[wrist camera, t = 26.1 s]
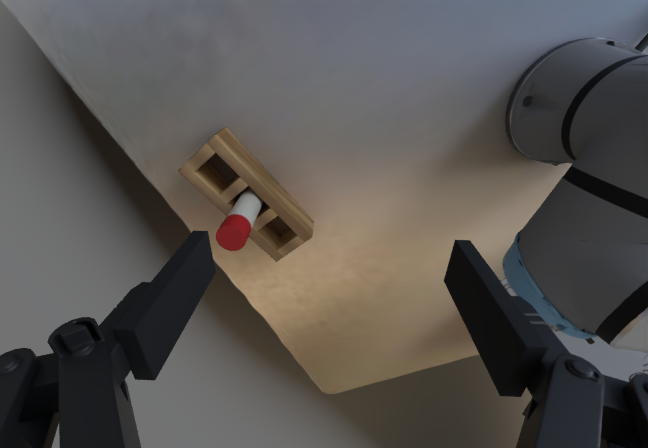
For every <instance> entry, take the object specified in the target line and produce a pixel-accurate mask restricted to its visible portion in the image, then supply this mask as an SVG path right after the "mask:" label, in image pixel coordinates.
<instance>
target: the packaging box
mask: <svg viewBox="0 0 648 448" xmlns="http://www.w3.org/2000/svg"><path fill="white" fill-rule="evenodd" d="M500 282H501V283H502V284H503V286H504V287H505V288H506V290H507V291H508V293H509V294H510V295H511V296H517V295H516V294H515V292H514V291H513V289H512V288H511V286H510V285H509V283H508V281H507V279H504V280H502V281H500ZM546 324H547V325H548V326H549V327H550V328H551V330H552V331H553V332H554V333H555V335H556V336H557V337H558V338H559V340H560V341H561V342H562V343H563V345H564V346H565V347H566V348H567V350H568V351H569V352H570V353H571V354H574V355H576V356H579V357H582V358H583V359H585V360H587V361H589V362H590V363H591V364H593V365H594V366H595V367H596V368H597V369H598V370H599V371H600V372H601V374H603V375H606V376H610V377H613V378H617V379H620V380H623V381H627V382H629V381H630V380H631V379H632V377H634V376H635V375H636V374H645V375H648V354H647V353H644V352H641V351H633V350H623V349H615V348H613V347H611V346H610V345H609V344H607V343H606V342H605V341H604V340H602V339H601V338H600V337H598V336H597V337H594V338H588V339H580V338H575V337H572V336H569V335H567V334H565V333H563V332H561V331H560V330H559V329H558V328H557V327H556V326H555V325H549V324H548V323H546Z"/></svg>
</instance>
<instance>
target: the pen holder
mask: <svg viewBox="0 0 648 448" xmlns="http://www.w3.org/2000/svg"><path fill="white" fill-rule="evenodd" d="M216 153H217V154H218V155H219V156H220V157H221V158H222V159H223V160H224V161H225V162H226V163H227V164H228V165H229V166H230V167H231V168H232V169H233V170H234V171H235V172H236V173H237V174H238V175H237V176H236V177H235V178H234V179H233V180H232V181H230V182H228V181H227V180H225V179H224V178H223V177H222V176H221V175H220V174H219V173H218V172H217V171H216V170H215V169H214V168H213V167H212V166H211V165H210V164H209V163H208V162H207V161H208V160H209V159H210V158H211V157H213V156H214V155H215V154H216ZM178 171H179V172H180V173H181V174H182V175H183V176H184V177H185V178H186V179H187V180H188V181H190V182H191V183H192V184H193V185H194V186H195V187H196V188H197V189H198V190H199V191H200V192H201V193H203V194H204V195H205V196H206V197H207V198H208V199H209V200H210V201H211V202H212V203H213V204H214V205H215V206H217V207H218V208H219V209H220V210H221V211H222V212H223V213H224V214H225V215H226V216H228V215H229V213H230V212H231V210H232V208H233V207H234V205H235V204H236V202H237V201H238V199H239V197H240V196H241V194H240V192H241V191H243V190H244V189H245V188H246V187H247V186H249V187H250V188H251V189H252V190H253V191H254V192H255V193H256V194H257V195H258V196H259V197H260V198H261V199H262V200H263V201H264V202H265V203H264V204H263V205H262V207H261V209H260V211H259V213H258V216H257V218H256V220H255V222H254V224H253V227H252V229H251V232H250V234H249V237H250V238H251V239H252V240H253V241H254V242H255V243H257V244H258V245H259V246H260V247H261V248H262V249H263V250H264V251H265V252H266V253H267V254H268V255H270V256H271V257H272V258H273V259H274V260H275V261H276V262H277V261H278V260H280V259H281V258H282V257H284V256H285V255H287V254H288V253H290V252H291V251H293V250H294V249H296V248H297V247H298V246H300V245H301V244H303V243H304V242H306V241H307V240H309V239H310V238H311V237H312V233H313V223H314V221H313V220H312V219H311V218H310V217H309V216H308V215H307V214H306V213H305V212H304V211H303V209H302V208H301V207H300V206H299V205H298V204H297V203H296V202H295V201H294V200H293V199H292V198H291V197H290V196H289V194H288V193H287V192H286V191H285V190H284V189H283V188H282V187H281V186H280V185H279V184H278V183H277V182H276V181H275V179H274V178H273V177H272V176H271V175H270V174H269V173H268V172H267V171H266V170H265V169H264V168H263V167H262V166H261V164H260V163H259V162H258V161H257V160H256V159H255V158H254V157H253V156H252V155H251V154H250V153H249V152H248V151H247V149H246V148H245V147H244V146H243V145H242V144H241V143H240V142H239V141H238V140H237V139H236V138H235V137H234V136H233V134H232V133H231V132H230V131H229V130H228V129H227V128H224V129H223V130H222V131H220V132H219V133H217V134H216V135H214V136H213V137H212V138H211V139H210V140H209V141H208V142H207V143H206V144H205V145H204V146H203V147H202V148H201V149H200V150H199V151H198V152H196V153H195V154H194V155H193V156H192V157H191V158H190V159H189V160H188V161H187V162H186V163H185V164H184V165H183V166H182V167H181V168H180V169H179V170H178ZM277 216H279V217H280V218H281V219H282V220H283V221H284V222H285V223H286V224H287V225H288V226H289V227H290V228H289V229H288V230H286V231H285V232H283V233H282V234H280V233H279V232H278V231H277V230H276V229H275V228H274V227H273V226H272V225H271V224H270V223H269V222H270V221H271V220H273V219H274V218H275V217H277Z"/></svg>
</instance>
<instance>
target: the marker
mask: <svg viewBox="0 0 648 448" xmlns="http://www.w3.org/2000/svg"><path fill="white" fill-rule="evenodd" d="M263 202H264V201H263V200H262V199H261V198H260V197H259V196H258V195H257V194H256V193H255V192H254V191H253V190H252V189H251V188H250V187H249V186H247V187H246V188H245V190H244V191H243V193H242V194H241V196H240V197H239V199H238V201H237V202H236V204H235V205H234V207H233V208H232V210H231V212H230V213H229V215H228V216H227V218H226V219H225V220H224V222H223V223H222V225H221V226H220V228H219V229H218V231H217V233H216V239H217V242H218V243H219V245H220V246H221V247H223V248H224V249H226V250H230V251H236V250H239V249H241V248H242V247H243V246H244V245H245V243H246V241H247V239H248V236H249V234H250V232H251V229H252V227H253V224H254V222H255V220H256V218H257V216H258V213H259V211H260V209H261V207H262V204H263Z"/></svg>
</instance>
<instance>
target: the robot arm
mask: <svg viewBox="0 0 648 448" xmlns="http://www.w3.org/2000/svg"><path fill="white" fill-rule="evenodd" d="M647 46H648V34H647V35H646V36H645V37H644V38H643V39H642V40H641V42H640V43H639V44H638V45H637V46H636V47H635V48H632V47H629V46H628V45H626V44H624V43H622V42H619V41H617V40H612V39H606V38H586V39H578V40H574V41H570V42H568V43H565V44H562V45H560V46H558V47H556V48H554V49H553V50H551V51H549V52H548V53H546V54H545V55H544V56H542V57H541V58H540V59H539V60H537V61H536V62H535V63H534V64H533V65H532V66H531V67H530V68H529V69H528V70H527V72H526V73H525V74H524V75H523V77H522V78H521V79H520V81H519V82H518V84H517V85H516V87H515V89H514V91H513V93H512V95H511V98H510V101H509V104H508V107H507V112H506V130H507V134H508V137H509V139H510V141H511V143H512V145H513V146H514V147H515V148H516V149H517V150H518V151H519V152H520V153H522V154H523V155H525V156H527V157H529V158H531V159H533V160H536V161H540V162H544V163H551V164H553V165H555V166H557V165H559V164H560V163H573V164H572V166H571V167H570V168H569V170H568V171H567V172H566V174H565V175H564V176H563V177H562V178H561V180H560V181H559V182H558V184H557V185H556V186H555V188H554V189H553V190H552V192H551V193H550V194H549V196H548V197H547V198H546V200H545V201H544V202H543V204H542V205H541V206H540V208H539V209H538V210H537V211H536V213H535V214H534V215H533V216H532V218H531V219H530V220H529V222H528V223H527V224H526V225H525V227H524V228H523V229H522V230H521V231H520V232H518V233H517V235H516V237H515V241H514V243H513V244H512V246H511V247H510V248H509V250H508V251H507V253H506V254H505V256H504V259H503V269H504V275H505V277H506V279H507V281H508V283H509V285H510V286H511V288H512V289H513V291H514V292H515V294H516V295H517V296H511V295H510V294H509V293H508V291H507V290H506V288H505V287H504V286H503V284H502V283H501V282H500V280H499V279H498V278H497V276H496V275H495V274H494V272H493V271H492V270H491V268H490V267H489V266H488V264H487V263H486V262H485V260H484V259H483V257H482V256H481V255H480V253H479V252H478V251H477V249H476V248H475V247H474V245H473V244H472V243H471V241H470V240H455V243H454V246H453V250H452V253H451V257H450V261H449V264H448V268H447V271H446V275H445V279H444V282H445V284H446V286H447V288H448V290H449V292H450V294H451V297H452V299H453V301H454V303H455V305H456V307H457V309H458V311H459V313H460V315H461V317H462V319H463V321H464V323H465V325H466V327H467V329H468V331H469V333H470V335H471V337H472V339H473V342H474V344H475V346H476V348H477V350H478V352H479V354H480V356H481V358H482V360H483V362H484V364H485V366H486V368H487V370H488V372H489V374H490V376H491V378H492V380H493V382H494V384H495V386H496V389H497V390H498V393H499V395H500V396H513V397H521V396H522V394H523V392H524V390H525V388H526V387H527V388H528V390H529V392H530V394H531V395H532V399H531V401H530V402H529V404H528V406H527V407H526V409H525V411H524V412H523V415H524V416H525V419H524V423H523V426H522V429H521V433H520V436H519V439H518V443H517V446H516V448H648V375H645V374H636V375H635V376H634V377H632V379H631V380H630V381H629V382H627V381H623V380H620V379H617V378H613V377H610V376H606V375H603V374H601V372H600V371H599V370H598V369H597V368H596V367H595V366H594V365H593V364H591V363H590V362H589V361H587V360H585V359H583V358H582V357H579V356H576V355H574V354H571V353H570V352H569V351H568V350H567V348H566V347H565V346H564V345H563V343H562V342H561V341H560V340H559V338H558V337H557V336H556V335H555V333H554V332H553V331H552V330H551V328H550V327H549V326H548V325H547V324H546V323H548V324H549V325H555V326H556V327H557V328H558V329H559V330H560V331H561V332H563V333H565V334H567V335H569V336H572V337H575V338H580V339H588V338H594V337H597V336H598V337H600V338H601V339H602V340H604V341H605V342H606V343H607V344H609V345H610V346H611V347H613V348H615V349H623V350H633V351H641V352H644V353H647V354H648V55H646V54H644V53H642V51H643V50H644V49H645V48H646V47H647ZM215 272H216V271H215V266H214V261H213V256H212V251H211V246H210V240H209V235H208V231H193V232H192V233H191V234H190V236H189V237H188V238H187V239H186V241H185V242H184V243H183V244H182V245H181V246H180V248H179V249H178V250H177V251H176V253H175V254H174V255H173V256H172V257H171V259H170V260H169V261H168V262H167V263H166V264H165V266H164V267H163V268H162V269H161V271H160V272H159V273H158V274H157V275H156V277H155V278H154V279H153V280H152V281H151V282H142V283H140V284H139V285H138V286H136V287H134V288H133V289H131V290H130V291H129V293H128V294H127V295H126V296H125V297H124V298H123V300H122V301H121V302H120V303H119V304H118V305H117V307H116V308H114V309H113V311H112V312H111V313H110V314H109V315H108V316H107V317H106V319H105V320H104V321H103V322H102V323H101V324H100V325H99V326H98V324H97V322H96V321H95V319H93V318H90V317H82V318H78V319H74V320H71V321H69V322H67V323H65V324H63V325H61V326H60V327H59V328H57V329H56V330H55V331H54V332H53V333H52V334H51V335H50V336H49V339H48V344H49V345H50V347H51V348H52V350H53V352H54V353H52V354H47V355H42V356H37V357H36V355H35V354H34V352H33V351H32V350H31V349H27V348H20V349H15V350H12V351H9V352H6V353H4V354H2V355H1V356H0V448H51V447H52V444H53V440H54V437H55V434H56V430H57V427H58V423H59V429H60V430H59V431H60V432H59V433H60V448H141V445H140V440H139V436H138V431H137V427H136V422H135V418H134V414H133V409H132V405H131V400H130V396H129V391H128V387H127V384H126V381H125V378H126V376H127V375H128V373H129V372H130V370H131V371H132V373H133V375H134V378H135V379H137V380H155V379H156V378H157V376H158V374H159V372H160V370H161V369H162V367H163V365H164V363H165V362H166V360H167V358H168V356H169V354H170V353H171V351H172V349H173V347H174V345H175V344H176V342H177V340H178V338H179V337H180V335H181V333H182V331H183V330H184V328H185V326H186V324H187V322H188V321H189V319H190V317H191V315H192V314H193V312H194V310H195V308H196V306H197V304H198V303H199V301H200V299H201V298H202V296H203V294H204V292H205V290H206V289H207V287H208V285H209V283H210V282H211V280H212V278H213V276H214V274H215Z"/></svg>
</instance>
